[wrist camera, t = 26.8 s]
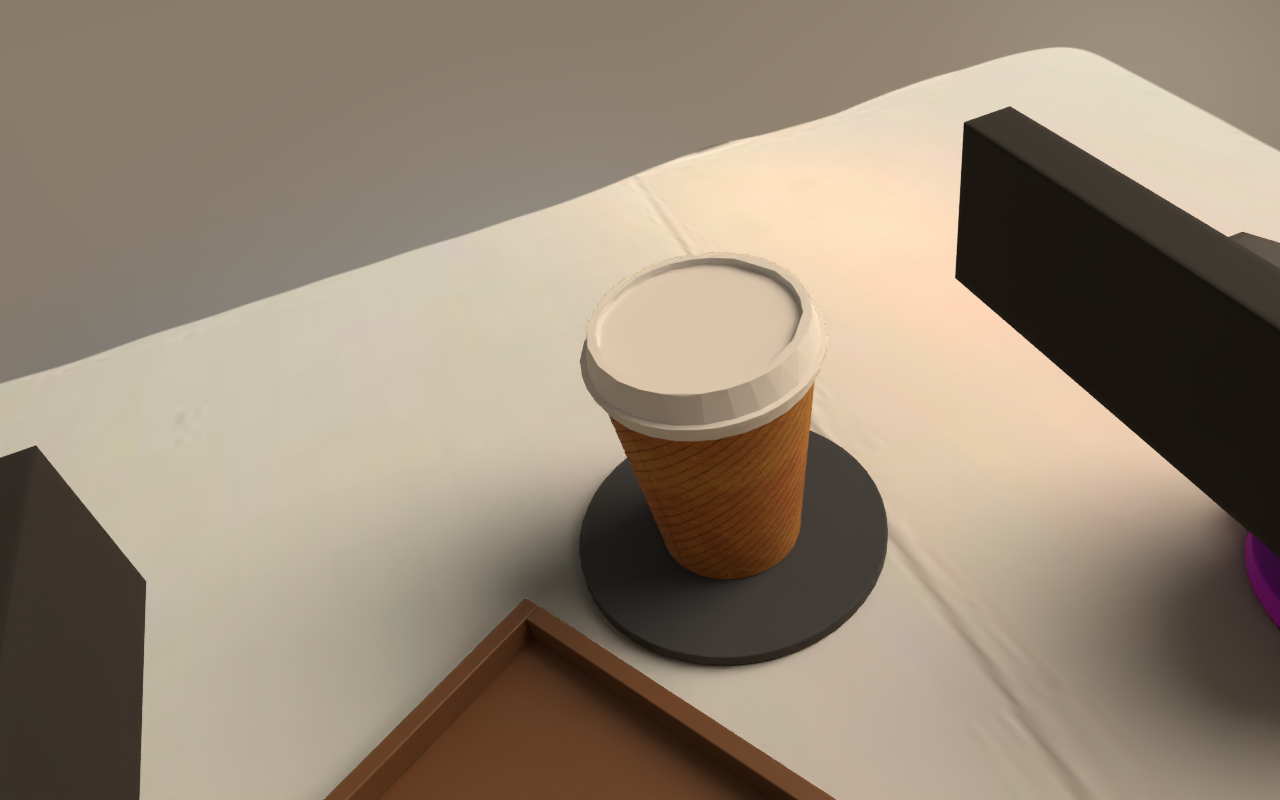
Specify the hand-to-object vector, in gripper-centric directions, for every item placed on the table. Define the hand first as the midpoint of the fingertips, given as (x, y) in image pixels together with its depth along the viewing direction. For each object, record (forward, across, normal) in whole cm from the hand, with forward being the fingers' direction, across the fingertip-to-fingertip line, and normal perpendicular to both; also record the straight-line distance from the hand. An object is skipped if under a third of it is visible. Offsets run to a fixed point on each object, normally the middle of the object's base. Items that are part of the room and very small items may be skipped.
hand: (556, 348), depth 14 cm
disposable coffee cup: (+17, +8, -26) cm, 33 cm away
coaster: (+17, +8, -27) cm, 33 cm away
